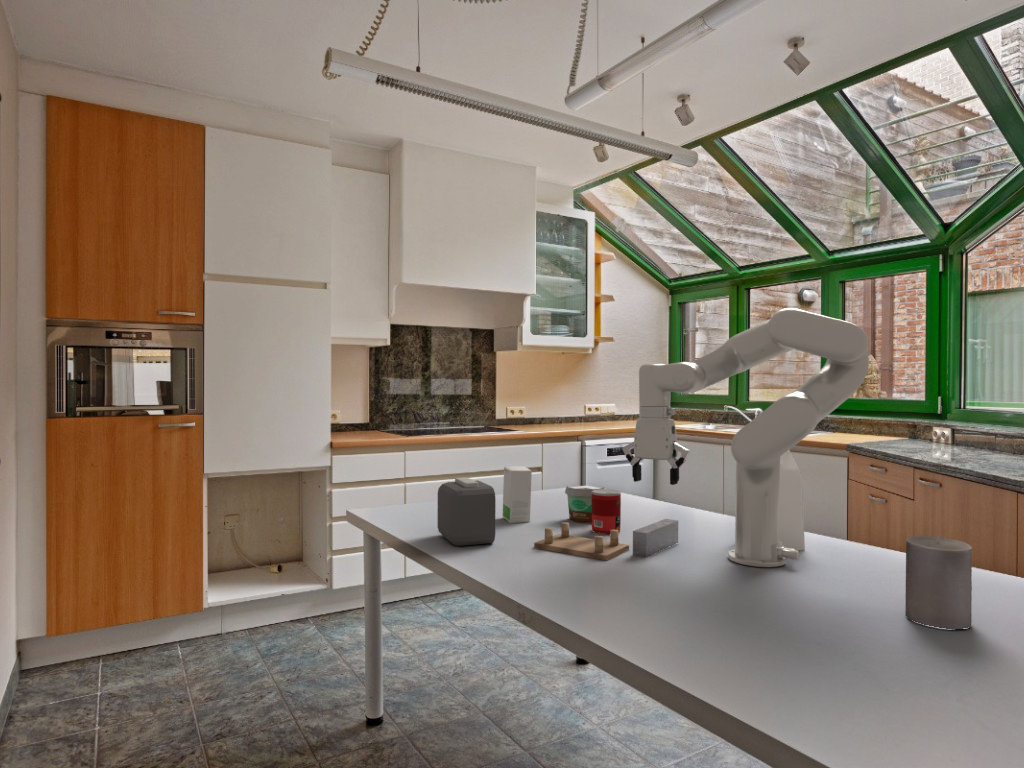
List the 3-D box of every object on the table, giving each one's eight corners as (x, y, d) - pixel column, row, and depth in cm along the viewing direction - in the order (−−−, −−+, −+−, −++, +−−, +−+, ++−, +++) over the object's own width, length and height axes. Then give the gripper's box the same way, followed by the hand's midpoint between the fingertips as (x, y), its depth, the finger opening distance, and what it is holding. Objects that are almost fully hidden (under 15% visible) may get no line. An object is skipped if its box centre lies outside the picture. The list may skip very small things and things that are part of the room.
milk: (789, 539, 172) (790, 440, 172) (804, 550, 161) (805, 444, 161) (743, 537, 173) (743, 440, 173) (754, 548, 162) (755, 444, 162)
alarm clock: (495, 545, 164) (495, 483, 164) (451, 549, 160) (452, 486, 160) (474, 531, 179) (475, 474, 179) (434, 535, 175) (434, 476, 175)
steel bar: (665, 541, 169) (665, 518, 169) (678, 543, 167) (678, 520, 167) (632, 556, 155) (632, 531, 155) (646, 558, 153) (646, 533, 153)
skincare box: (502, 517, 197) (502, 466, 197) (522, 516, 199) (523, 465, 199) (510, 523, 189) (510, 469, 189) (531, 522, 191) (532, 469, 191)
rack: (629, 549, 160) (629, 530, 160) (606, 560, 150) (606, 540, 150) (559, 538, 172) (559, 520, 172) (534, 547, 162) (534, 528, 162)
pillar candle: (910, 607, 120) (909, 526, 120) (974, 619, 114) (974, 533, 114) (900, 622, 113) (900, 536, 112) (969, 636, 106) (969, 545, 106)
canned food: (622, 534, 176) (622, 493, 176) (592, 534, 177) (593, 493, 177) (618, 528, 184) (618, 489, 184) (590, 527, 184) (590, 488, 184)
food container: (560, 522, 191) (560, 488, 191) (565, 518, 197) (565, 485, 197) (602, 525, 188) (602, 490, 188) (605, 520, 194) (606, 487, 193)
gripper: (694, 413, 159) (694, 483, 159) (629, 412, 170) (630, 478, 170) (682, 414, 153) (683, 487, 153) (616, 413, 164) (617, 481, 164)
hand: (655, 482), depth 161 cm, fingers open, 9 cm apart
